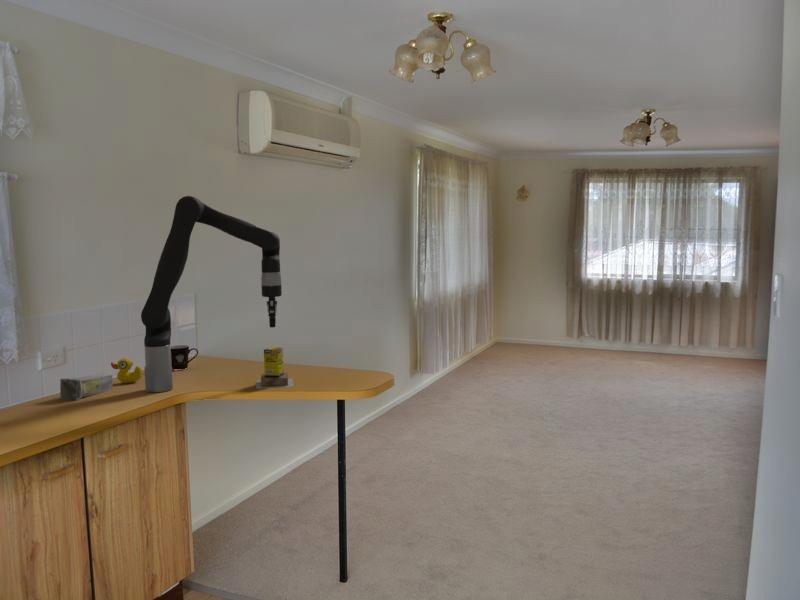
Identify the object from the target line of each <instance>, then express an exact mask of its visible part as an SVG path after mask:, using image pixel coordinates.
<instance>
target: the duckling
mask: <svg viewBox="0 0 800 600" xmlns="http://www.w3.org/2000/svg"><path fill="white" fill-rule="evenodd" d="M133 365H134V362H133V360H131V359H129V358H121V359H119V360H118V361H117V363H114V362H110V366H111V368H113V370H119V371H118V372H117V374H116V377H117V380H118V381H119V382H121V383H122V384H131V383H136V382H138V381H139V380H141V378H142V376H143V368H142V367H141V366H139V365H136V366H135V368H134V370H133V371H130V370H131V368H132V367H133Z"/></svg>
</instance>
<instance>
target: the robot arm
mask: <svg viewBox="0 0 800 600" xmlns="http://www.w3.org/2000/svg"><path fill="white" fill-rule="evenodd" d="M174 208H175V209H174V214H173V219H172V224H171V227H170V230H169V232H168V236H167V238H166V240H165V243H164V246H163V248H162V251H161V253H160V257H159V260H158V263H157V267H156V270H155V275H154V278H153V281H152V282H153V283H152V287H151V290H150V291H149V295H148V297H147V300H146V302H145V304H144V305H143V306H144V307H143V308H142V310H141V312H140V313H141V314H140V319H141V322H142V324H143V325H144V326H145V335H144V340H143V343H144V357H145V358H144V359H145V363H144V364H145V366H144V384H145V393H148V392H149V393H161V392H168V391H171V390H172V389H174V387H173V383H174V382H173V370H172V364H171V346H172V344H171V337H172V322H171V321H172V320H171V311H170V309H169V304H170V301H171V297H172V295H173V292H174V290H175V289H176V287H177V285H178V283H179V282H180V279H181V277H182V275H183V273H184V270H185V268H186V267H185V266H186V263H187V260H188V256H189V248H190V241H191V239H190V238H191V235H192V232H193V229H194V227H195V225H196V223H199V224H204V225H207V226H210V227H213V228H214V229H217V230H219V231H221V232H223V233H226V234H227V235H229V236H231V237H233V238H236V239H239V240H242V241H244V242H247V243H250V244H253V245H255V246H257V247H259V248H261V253H262V256H261V257H262V258H261V265H260V266H261V278H260V281H261V282H260V283H261V297H263V298H268V300H267V301H266V306H267V313H268V315H267V317H268V319H269V328H276V324H277V323H276V322H277V321H276V316H277V312H278V310H277V309H278V308H277V307H278V300H277V299H276V297H277V298H278V297H282V293H283V292H282V276H281V261H280V254H281V253H280V251H281V249H280V248H281V245H280V243H281V241H280V237H279V235H278V234H277V233H275V232H272V231H269V230H267V229H264V228H261V227H258V226H256V225H255V224H252V223H250V222H249V221H246V220H243V219H240V218H237V217H235V216H231V215H229V214H226V213H223V212H221V211H218V210H217V209H214V208H212V207H210V206H209V205H207V204H205V203H204V202H202V201H201V200H200V199H199V198H197V197H194V196H191V195H186V196H183V197H181V198H180V199H179V200H177V202H176V205H175V207H174Z"/></svg>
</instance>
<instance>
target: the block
mask: <svg viewBox="0 0 800 600" xmlns="http://www.w3.org/2000/svg"><path fill="white" fill-rule="evenodd" d="M59 382H60V384H59V385H60V386H59V388H60V392H59V393H60V400H64V401H74V402H75V401H76V402H77V401H80V400H81V399H82V398H85V397H90V396H94V395H97V394H101V393H103V392H107V391H112V390H113V387H114V386H113V374H104V373H103V374H102V373H100V374H91V375H86V376H79V377H71V378H69V377H65V378H63V377H62V378H60V381H59Z"/></svg>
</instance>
